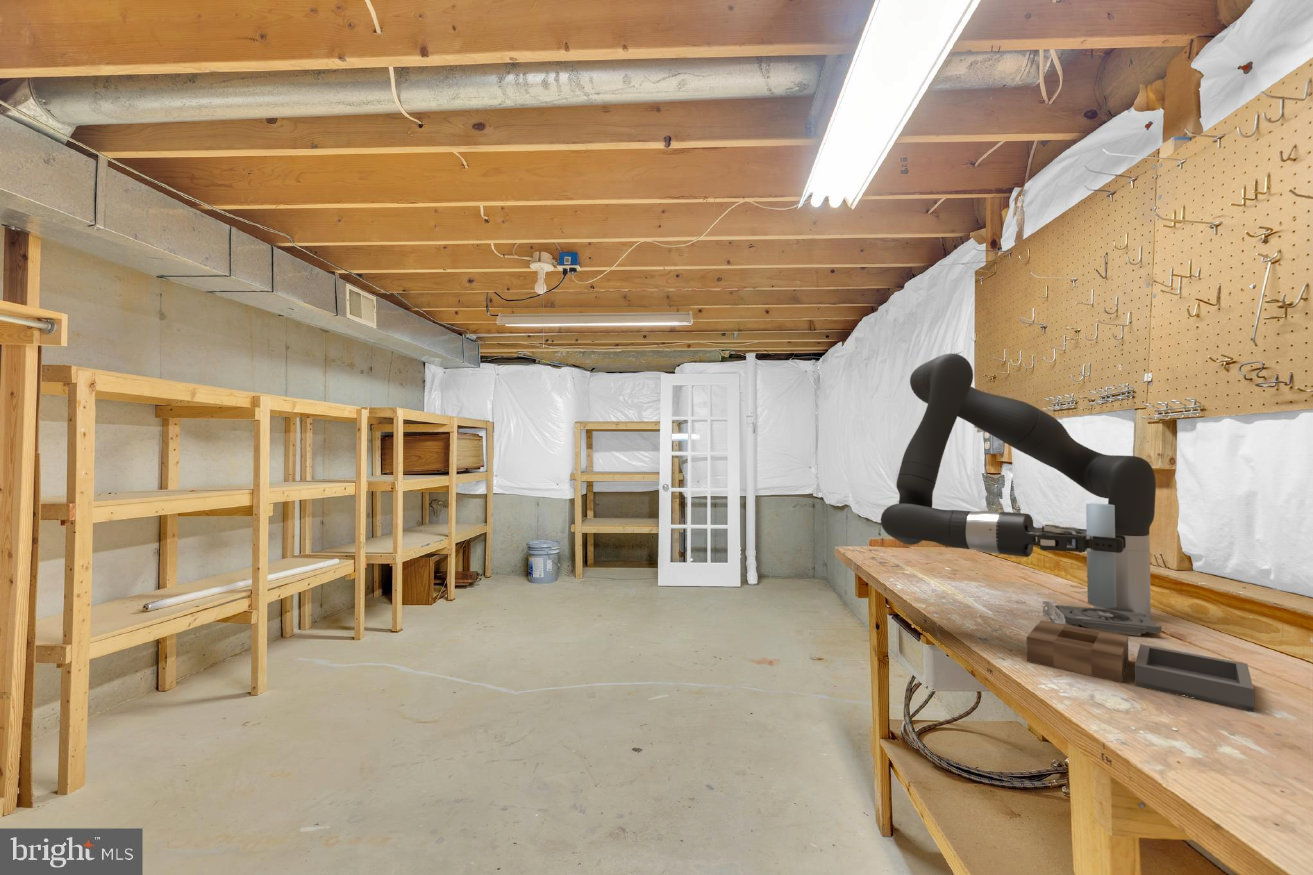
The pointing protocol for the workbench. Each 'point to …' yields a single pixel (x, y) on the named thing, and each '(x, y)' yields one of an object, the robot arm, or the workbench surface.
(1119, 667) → the bore block
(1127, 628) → the graphics card
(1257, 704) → the workbench surface
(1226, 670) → the tray
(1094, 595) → the dowel
